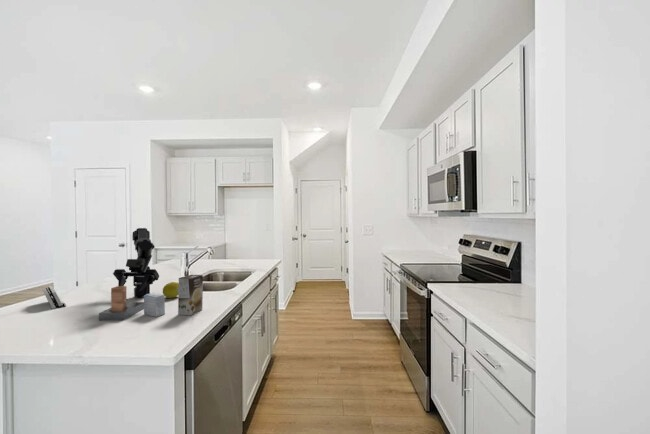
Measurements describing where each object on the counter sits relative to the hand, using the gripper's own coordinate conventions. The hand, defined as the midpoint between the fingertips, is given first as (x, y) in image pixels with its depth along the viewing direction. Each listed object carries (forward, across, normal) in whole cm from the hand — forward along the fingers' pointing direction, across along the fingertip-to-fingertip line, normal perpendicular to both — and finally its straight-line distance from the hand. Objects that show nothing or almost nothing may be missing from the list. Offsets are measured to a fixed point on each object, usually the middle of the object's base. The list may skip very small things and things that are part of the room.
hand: (129, 290), depth 143 cm
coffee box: (+9, +28, +5) cm, 30 cm away
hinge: (-1, -41, +14) cm, 43 cm away
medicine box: (+11, +14, +3) cm, 18 cm away
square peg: (+12, 0, +1) cm, 12 cm away
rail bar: (+10, 0, +3) cm, 11 cm away
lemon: (-9, +10, +22) cm, 26 cm away
